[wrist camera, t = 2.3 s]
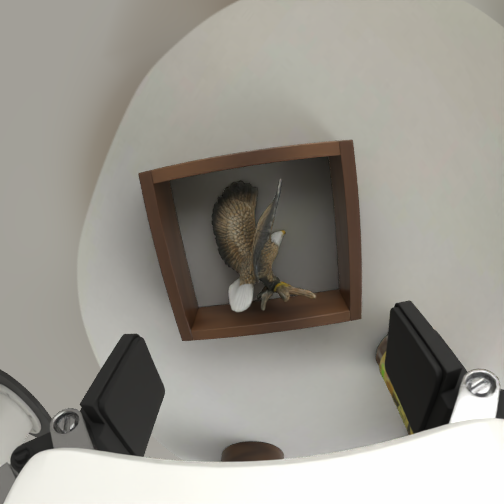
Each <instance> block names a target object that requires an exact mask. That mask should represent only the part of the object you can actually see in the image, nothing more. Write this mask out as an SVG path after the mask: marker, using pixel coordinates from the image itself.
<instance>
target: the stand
mask: <svg viewBox="0 0 504 504" xmlns="http://www.w3.org/2000/svg"><path fill="white" fill-rule="evenodd" d="M279 459H284V454H283V452H282V451H281V450H280V449H279V448H278V447H276V446H274V445H271V444H268V443H263V442H240V443H236V444H232V445H230V446H228V447H227V448H225V449H224V450H223V452H222V456H221V462H245V461H266V460H279Z"/></svg>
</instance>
